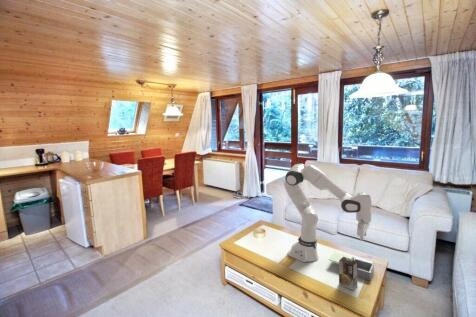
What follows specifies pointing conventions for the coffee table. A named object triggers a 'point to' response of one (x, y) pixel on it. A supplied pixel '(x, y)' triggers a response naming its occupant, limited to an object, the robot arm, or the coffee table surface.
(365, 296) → the coffee table surface
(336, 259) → the lid
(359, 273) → the bin
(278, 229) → the coffee table surface
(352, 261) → the coffee box
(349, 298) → the coffee table surface
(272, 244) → the coffee table surface
